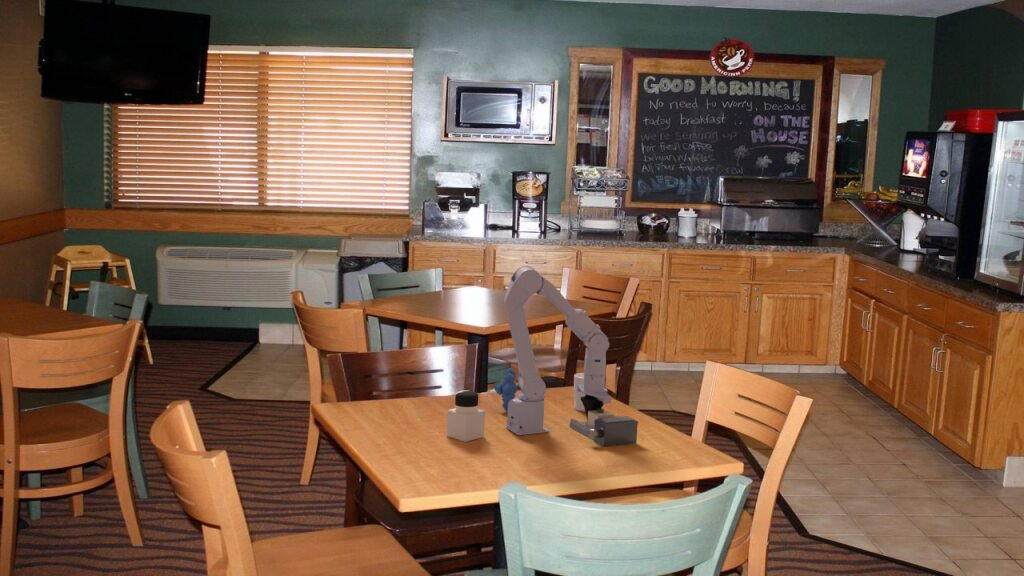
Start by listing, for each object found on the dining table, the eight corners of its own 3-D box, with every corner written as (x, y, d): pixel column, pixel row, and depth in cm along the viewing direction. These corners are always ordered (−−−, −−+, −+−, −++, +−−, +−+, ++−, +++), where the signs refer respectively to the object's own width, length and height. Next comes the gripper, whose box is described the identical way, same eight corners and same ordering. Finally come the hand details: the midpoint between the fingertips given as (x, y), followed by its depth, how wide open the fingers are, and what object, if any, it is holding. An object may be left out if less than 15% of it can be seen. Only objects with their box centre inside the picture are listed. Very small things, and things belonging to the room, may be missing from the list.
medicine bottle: (484, 437, 253) (486, 392, 251) (465, 442, 248) (466, 396, 246) (465, 431, 258) (467, 387, 256) (445, 436, 253) (447, 391, 251)
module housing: (593, 448, 247) (595, 424, 246) (557, 428, 264) (558, 405, 263) (636, 443, 253) (637, 419, 252) (598, 423, 270) (599, 401, 269)
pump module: (596, 434, 256) (598, 412, 255) (586, 428, 261) (587, 407, 260) (612, 432, 258) (614, 411, 258) (602, 427, 263) (603, 406, 262)
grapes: (495, 403, 287) (497, 363, 285) (518, 404, 287) (520, 365, 285) (491, 413, 276) (493, 372, 274) (515, 415, 275) (517, 374, 273)
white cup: (589, 414, 280) (591, 380, 278) (567, 408, 284) (568, 375, 283) (604, 409, 286) (606, 375, 285) (581, 404, 291) (583, 371, 289)
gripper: (621, 379, 257) (618, 428, 259) (593, 367, 269) (590, 414, 271) (599, 381, 253) (596, 431, 255) (571, 369, 266) (568, 417, 268)
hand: (591, 423), depth 263 cm, fingers closed
